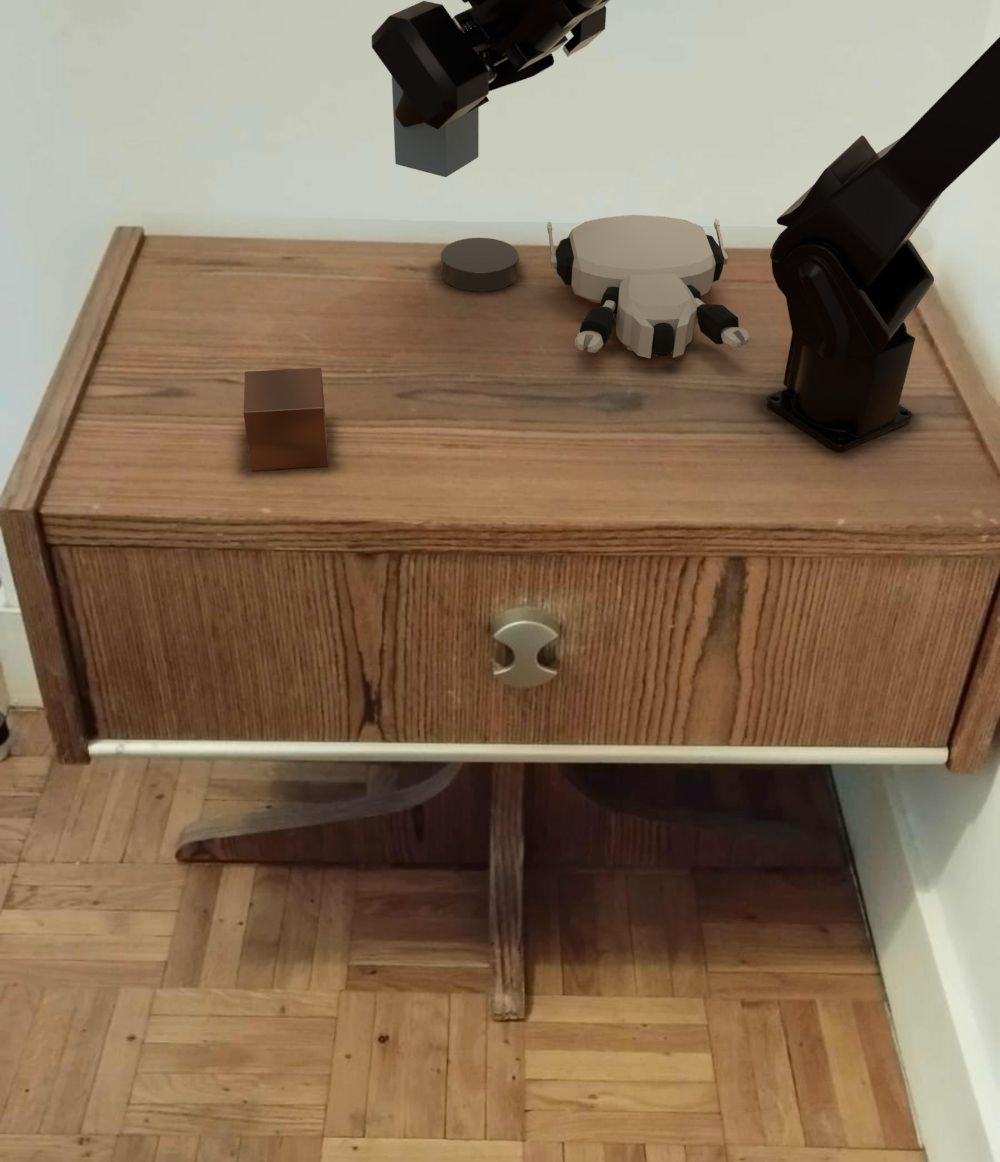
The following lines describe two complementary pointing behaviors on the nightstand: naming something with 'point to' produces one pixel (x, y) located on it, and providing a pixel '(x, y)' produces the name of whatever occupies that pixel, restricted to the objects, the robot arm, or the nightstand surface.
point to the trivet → (479, 264)
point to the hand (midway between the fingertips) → (419, 110)
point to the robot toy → (646, 283)
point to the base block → (285, 419)
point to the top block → (436, 142)
